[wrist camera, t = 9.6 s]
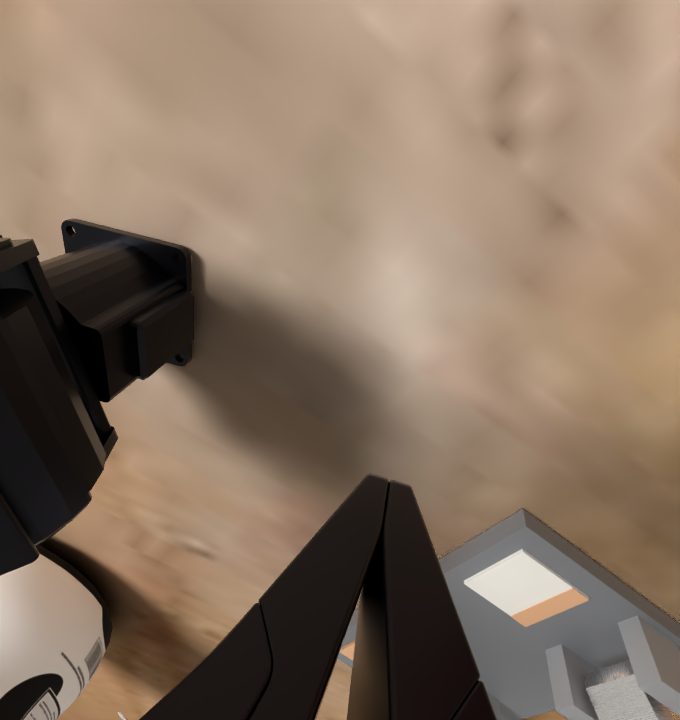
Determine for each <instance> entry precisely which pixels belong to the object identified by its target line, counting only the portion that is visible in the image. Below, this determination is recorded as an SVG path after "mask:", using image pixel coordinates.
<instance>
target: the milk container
mask: <svg viewBox="0 0 680 720" xmlns="http://www.w3.org/2000/svg"><path fill="white" fill-rule="evenodd" d="M36 549H37V550H38V552H39V554H40V555H39V557H38V558H37V560H35V561H34V562H33V563H30V564H28V565H26V566H23V567H21V568H18V569H16V570H13V571H11V572H8V573H6V574H3V575H1V576H0V720H56V719H57V718H58V717H59V716H60V715H61V714H62V713H63V712H64V711H65V710H66V709H67V708H68V707H69V706H70V705H71V704H72V702H73V701H74V700H75V699H76V698H77V697H78V696H79V695H80V693H81V692H82V691H83V689H84V688H85V687H86V685H87V684H88V682H89V681H90V679H91V678H92V676H93V675H94V673H95V671H96V669H97V668H98V666H99V664H100V662H101V660H102V658H103V656H104V654H105V651H106V649H107V647H108V644H109V642H110V637H111V632H112V623H111V619H110V615H109V612H108V609H107V604H106V603H105V601H104V600H103V599H102V597H101V596H100V595H99V593H98V592H97V590H96V588H95V587H94V586H93V585H92V584H91V583H90V582H89V581H88V580H87V579H86V578H85V577H84V576H83V575H82V574H81V573H79V572H78V571H77V570H76V569H75V568H74V567H73V566H72V565H70V564H69V563H67V562H66V561H64V560H63V559H61V558H60V557H58V556H57V555H55V554H54V553H52V552H50V551H49V550H47V549H46V548H44V547H41V546H39V545H37V546H36Z"/></svg>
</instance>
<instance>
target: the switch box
mask: <svg viewBox="0 0 680 720" xmlns="http://www.w3.org/2000/svg"><path fill="white" fill-rule="evenodd" d="M438 561H439V563H440V566H441V569H442V572H443V574H444V577H445V580H446V582H447V585H448V588H449V591H450V593H451V596H452V599H453V602H454V604H455V607H456V610H457V612H458V615H459V618H460V621H461V623H462V626H463V629H464V632H465V634H466V637H467V640H468V642H469V645H470V648H471V651H472V653H473V656H474V659H475V662H476V664H477V667H478V670H479V672H480V679H479V680H481V681H482V682H483V683H484V686H485V688H486V691H487V694H488V697H489V699H490V702H491V705H492V708H493V710H494V713H495V716H496V718H497V720H522V719H525V718H529V717H532V716H536V715H539V714H543V713H546V712H550V711H553V710H556V711H557V712H558V713H560V714H561V715H563V716H564V717H566V718H567V719H569V720H599V719H598V716H597V714H596V712H595V709H594V707H593V705H592V702H591V700H590V698H589V695H588V693H587V691H586V686H585V682H584V675H585V674H586V673H589V672H592V671H596V670H599V669H602V668H605V667H608V666H611V665H614V664H617V663H620V662H624V661H627V660H630V662H631V665H632V668H633V671H634V675H635V678H636V681H637V684H638V687H639V688H640V689H642V690H643V691H644V692H646V693H647V694H649V695H650V696H652V697H653V698H654V699H656V700H657V701H659V702H660V703H662V704H663V705H664V706H666V707H667V708H669V709H670V710H672V711H673V712H674V713H676V714H677V715H679V716H680V624H679V623H678V622H676V621H675V620H674V619H672V618H671V617H670V616H668V615H667V614H666V613H664V612H663V611H662V610H660V609H659V608H657V607H656V606H655V605H653V604H652V603H651V602H649V601H648V600H647V599H645V598H644V597H643V596H641V595H640V594H638V593H637V592H636V591H634V590H633V589H632V588H630V587H629V586H628V585H626V584H625V583H624V582H622V581H621V580H619V579H618V578H617V577H615V576H614V575H613V574H611V573H610V572H609V571H607V570H606V569H604V568H603V567H602V566H600V565H599V564H598V563H596V562H595V561H594V560H592V559H591V558H590V557H588V556H587V555H585V554H584V553H583V552H581V551H580V550H579V549H577V548H576V547H575V546H573V545H572V544H571V543H569V542H568V541H566V540H565V539H564V538H562V537H561V536H560V535H558V534H557V533H556V532H554V531H553V530H552V529H550V528H549V527H547V526H546V525H545V524H543V523H542V522H541V521H539V520H538V519H537V518H535V517H534V516H533V515H531V514H530V513H528V512H527V511H526V510H524V509H521V510H519V511H518V512H516V513H514V514H513V515H511V516H509V517H508V518H506V519H505V520H503V521H501V522H500V523H498V524H496V525H495V526H493V527H491V528H490V529H488V530H486V531H485V532H483V533H482V534H480V535H478V536H477V537H475V538H473V539H472V540H470V541H468V542H467V543H465V544H463V545H462V546H460V547H459V548H457V549H455V550H454V551H452V552H450V553H449V554H447V555H445V556H444V557H442V558H440V559H439V560H438ZM358 610H359V608H358V609H357V610H355V611H354V613H353V616H352V618H351V621H350V624H349V627H348V630H347V633H346V635H345V638H344V641H343V644H342V647H341V649H340V652H339V655H338V659H339V660H341V661H342V662H344V663H346V664H347V665H349V666H350V667H353V657H354V648H355V638H356V629H357V620H358ZM479 680H478V681H479Z"/></svg>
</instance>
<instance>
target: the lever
mask: <svg viewBox="0 0 680 720" xmlns="http://www.w3.org/2000/svg"><path fill="white" fill-rule="evenodd" d="M584 682H585V686H586V691H587V693H588V695H589V698H590V700H591V702H592V705H593V707H594V709H595V712H596V714H597V716H598V719H599V720H674V719H673V717H672V715H671V713H670V711H669V709H668V708H667V707H666V706H664V705H663V704H662V703H660V702H659V701H657V700H656V699H654V698H653V697H652V696H650V695H649V694H647V693H646V692H644V691H643V690H642V689H640V688H639V687H638V684H637V681H636V678H635V675H634V671H633V668H632V665H631V662H630V660H627V661H624V662H620V663H617V664H614V665H611V666H608V667H605V668H602V669H599V670H596V671H592V672H589V673H586V674H585V675H584Z"/></svg>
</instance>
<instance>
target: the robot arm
mask: <svg viewBox="0 0 680 720" xmlns="http://www.w3.org/2000/svg"><path fill="white" fill-rule="evenodd" d="M72 227H73V228H74V229H75V232H76V233H75V232H74V231H73V229H72ZM61 229H62V235H63V241H64V247H65V253H66V254H63V255H60V256H57V257H55V258H52V259H49V260H46V261H43V262H39V260H38V258H37V256H38V255H39V252H38V250H37V248H36V245H35V243H34V241H33V239H24V240H11V239H10V238H3V237H2V235H0V576H1V575H3V574H6V573H8V572H11V571H13V570H16V569H18V568H21V567H23V566H26V565H28V564H30V563H33V562H34V561H35V560H37V558H38V557H39V555H40V554H39V552H38V550H37V549H36V546H37V545H39V544H41V543H42V542H44V541H46V540H47V539H49V538H50V537H52V536H53V535H54V534H56V533H57V532H58V531H59V530H61V529H62V528H63V527H64V526H65V525H66V524H68V523H69V522H71V521H72V520H73V519H74V518H75V517H76V516H77V515H78V514H79V513H80V512H81V511H82V510H83V509H84V508H85V507H86V506H87V505H88V504H89V502H90V501H91V499H92V496H91V494H90V492H89V491H90V490H91V489H92V487H93V486H94V484H95V483H96V481H97V479H98V478H99V476H100V475H101V473H102V471H103V470H104V464H105V461H106V460H107V458H108V456H109V454H110V452H111V450H112V449H113V447H114V445H115V443H116V441H117V439H118V436H117V434H116V431H115V429H114V427H112V426H110V424H109V422H108V419H107V417H106V415H105V412H104V410H103V408H102V405H101V403H100V401H102V402H109V401H110V400H112V399H113V398H114V397H115V396H117V395H118V394H119V393H120V392H121V391H123V390H124V389H125V388H126V387H128V386H129V385H130V384H131V383H132V382H134V381H135V380H136V379H137V378H138V379H141V380H145V379H146V378H148V377H149V376H151V375H152V374H153V373H154V372H155V371H157V370H158V369H159V368H160V367H161V366H163V365H164V364H165V363H166V362H167V363H171V364H174V365H178V366H185V365H186V364H188V363H189V362H190V361H191V359H192V340H193V339H194V296H193V294H192V292H191V257H190V253H189V251H188V250H187V249H186V248H185V247H183V246H181V245H177V244H173V243H169V242H165V241H161V240H157V239H153V238H149V237H145V236H141V235H137V234H134V233H130V232H126V231H122V230H118V229H114V228H110V227H106V226H102V225H98V224H94V223H90V222H86V221H82V220H78V219H69V220H66V221H64V222H63V223H62V225H61ZM176 253H178V254H179V255H180V256H181V261H180V260H178V258H177V256H176ZM179 354H180V355H182V356H183V358H181V357H180V356H179ZM360 593H361V595H360ZM359 596H360V602H359V610H358V620H357V629H356V638H355V648H354V657H353V667H352V676H351V685H350V695H349V704H348V714H347V720H497V718H496V716H495V713H494V710H493V708H492V705H491V702H490V699H489V697H488V694H487V691H486V688H485V686H484V683H483V682H482V681H481V680H479V679H480V672H479V670H478V667H477V664H476V662H475V659H474V656H473V653H472V651H471V648H470V645H469V642H468V640H467V637H466V634H465V632H464V629H463V626H462V623H461V621H460V618H459V615H458V612H457V610H456V607H455V604H454V602H453V599H452V596H451V593H450V591H449V588H448V585H447V582H446V580H445V577H444V574H443V572H442V569H441V566H440V563H439V561H438V558H437V555H436V552H435V550H434V547H433V544H432V542H431V539H430V536H429V533H428V531H427V528H426V525H425V522H424V520H423V517H422V514H421V512H420V509H419V506H418V503H417V501H416V498H415V495H414V492H413V490H412V488H411V486H409V485H407V484H404V483H401V482H398V481H394V480H392V481H390V482H389V481H388V479H387V478H384V477H381V476H378V475H374V474H368V475H367V476H366V477H365V478H364V479H363V480H362V481H361V482H360V484H359V485H358V486H357V487H356V488H355V489H354V490H353V492H352V493H351V494H350V495H349V496H348V497H347V499H346V500H345V501H344V502H343V503H342V504H341V505H340V507H339V508H338V509H337V510H336V511H335V512H334V514H333V515H332V516H331V517H330V518H329V519H328V520H327V522H326V523H325V524H324V525H323V526H322V527H321V529H320V530H319V531H318V532H317V533H316V534H315V535H314V537H313V538H312V539H311V540H310V541H309V542H308V544H307V545H306V546H305V547H304V548H303V549H302V550H301V552H300V553H299V554H298V555H297V556H296V557H295V559H294V560H293V561H292V562H291V563H290V564H289V565H288V567H287V568H286V569H285V570H284V571H283V572H282V574H281V575H280V576H279V577H278V578H277V579H276V580H275V582H274V583H273V584H272V585H271V586H270V587H269V589H268V590H267V591H266V592H265V593H264V594H263V595H262V597H261V598H260V599H259V602H258V603H256V604H254V605H253V607H252V608H251V609H250V610H249V611H248V612H247V613H246V615H245V616H244V617H243V618H242V619H241V620H240V622H239V623H238V624H237V625H236V626H235V627H234V628H233V629H232V630H231V631H230V632H229V633H228V635H227V636H226V637H225V638H224V639H223V640H222V641H221V642H220V643H219V644H218V645H217V646H216V648H215V649H214V650H213V651H212V652H211V653H210V654H209V655H208V656H207V657H206V658H205V659H203V660H202V661H201V662H200V663H199V664H198V665H197V666H196V667H195V668H194V669H193V670H192V671H191V672H190V673H189V674H188V675H187V676H186V677H185V678H184V679H183V680H182V681H181V682H180V683H179V684H178V685H176V686H175V687H174V688H173V689H172V690H171V691H170V692H169V693H168V694H167V695H166V696H164V697H163V698H162V699H161V700H160V701H159V702H158V703H157V704H156V705H155V706H154V707H152V708H151V709H150V710H149V711H148V712H147V713H146V714H145V715H144V716H143V717H142V718H140V719H139V720H316V717H317V714H318V711H319V709H320V706H321V703H322V700H323V697H324V695H325V692H326V689H327V686H328V683H329V680H330V678H331V675H332V672H333V669H334V666H335V664H336V661H337V658H338V655H339V652H340V649H341V647H342V644H343V641H344V638H345V635H346V633H347V630H348V627H349V624H350V621H351V618H352V616H353V613H354V610H355V607H356V604H357V601H358V599H359ZM478 680H479V681H478Z"/></svg>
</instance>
